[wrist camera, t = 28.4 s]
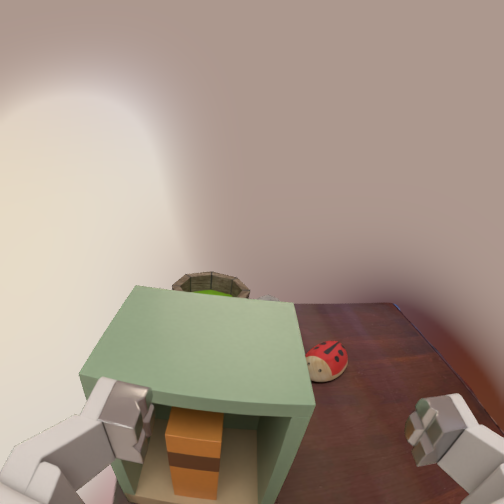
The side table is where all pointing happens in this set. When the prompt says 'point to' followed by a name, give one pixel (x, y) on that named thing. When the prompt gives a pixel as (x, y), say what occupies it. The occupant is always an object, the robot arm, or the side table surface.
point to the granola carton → (194, 451)
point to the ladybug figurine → (326, 361)
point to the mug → (215, 285)
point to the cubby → (211, 386)
